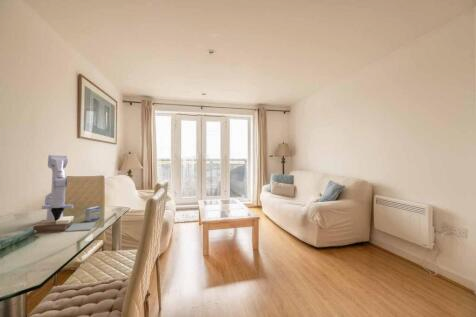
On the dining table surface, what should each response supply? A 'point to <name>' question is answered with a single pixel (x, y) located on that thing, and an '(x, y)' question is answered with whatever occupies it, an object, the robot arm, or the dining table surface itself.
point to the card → (65, 220)
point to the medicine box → (92, 213)
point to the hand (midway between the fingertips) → (56, 220)
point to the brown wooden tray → (50, 226)
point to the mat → (80, 227)
